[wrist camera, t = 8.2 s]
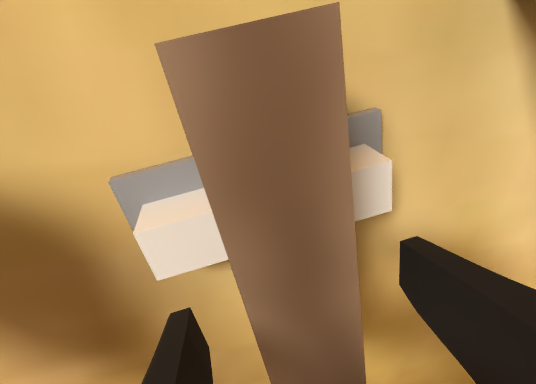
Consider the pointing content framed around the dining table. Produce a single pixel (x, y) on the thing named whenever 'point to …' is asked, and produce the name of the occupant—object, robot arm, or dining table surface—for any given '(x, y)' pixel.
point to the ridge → (199, 211)
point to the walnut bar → (279, 182)
